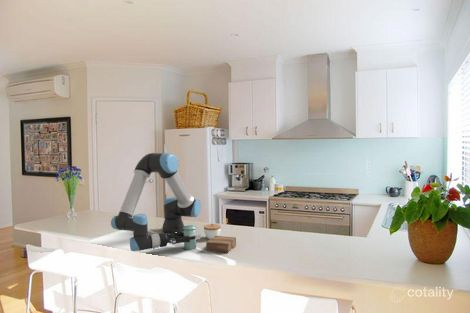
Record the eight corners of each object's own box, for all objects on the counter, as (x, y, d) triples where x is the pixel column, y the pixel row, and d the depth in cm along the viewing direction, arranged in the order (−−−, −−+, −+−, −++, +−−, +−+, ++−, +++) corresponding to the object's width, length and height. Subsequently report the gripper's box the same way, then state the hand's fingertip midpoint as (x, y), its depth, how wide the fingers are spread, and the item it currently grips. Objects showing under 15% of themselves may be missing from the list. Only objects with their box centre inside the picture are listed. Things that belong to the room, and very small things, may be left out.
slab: (215, 244, 206) (215, 235, 206) (236, 245, 202) (235, 237, 202) (206, 250, 194) (206, 242, 194) (228, 253, 190) (227, 244, 189)
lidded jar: (210, 241, 211) (209, 226, 210) (201, 238, 220) (200, 223, 219) (224, 238, 217) (224, 223, 217) (215, 234, 226) (214, 220, 225)
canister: (187, 245, 205) (186, 225, 205) (199, 246, 203) (198, 225, 202) (181, 249, 198) (180, 228, 197) (193, 250, 196) (192, 229, 195)
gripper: (155, 242, 202) (192, 236, 211) (163, 252, 184) (204, 245, 193) (154, 229, 201) (192, 224, 211) (162, 238, 183) (203, 232, 193)
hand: (198, 234), depth 202 cm, fingers closed on canister, 7 cm apart
